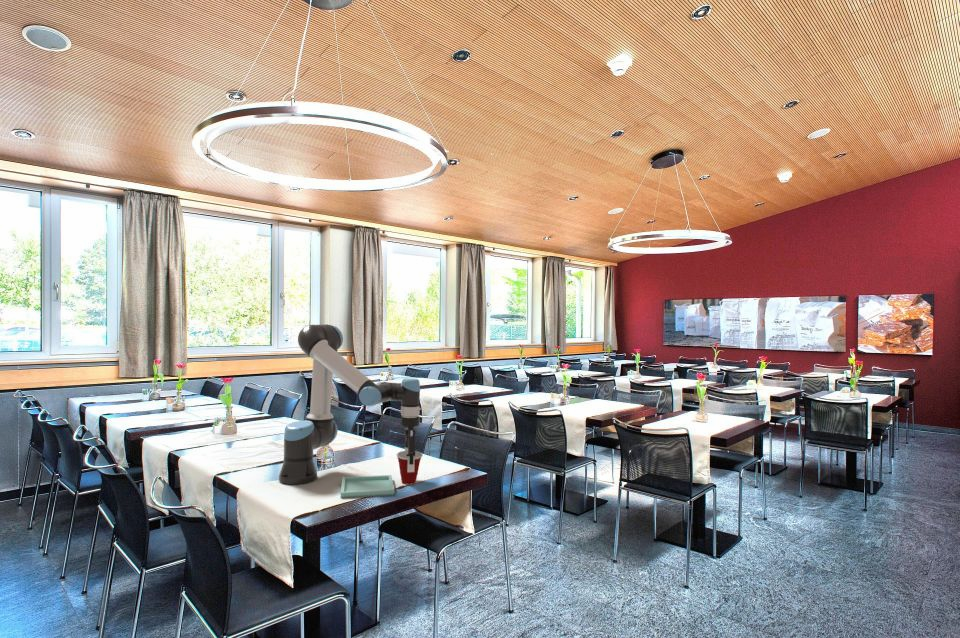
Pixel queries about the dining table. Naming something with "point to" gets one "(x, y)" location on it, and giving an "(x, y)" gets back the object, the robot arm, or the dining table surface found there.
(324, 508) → the dining table surface
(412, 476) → the plastic cup
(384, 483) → the tray
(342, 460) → the dining table surface
